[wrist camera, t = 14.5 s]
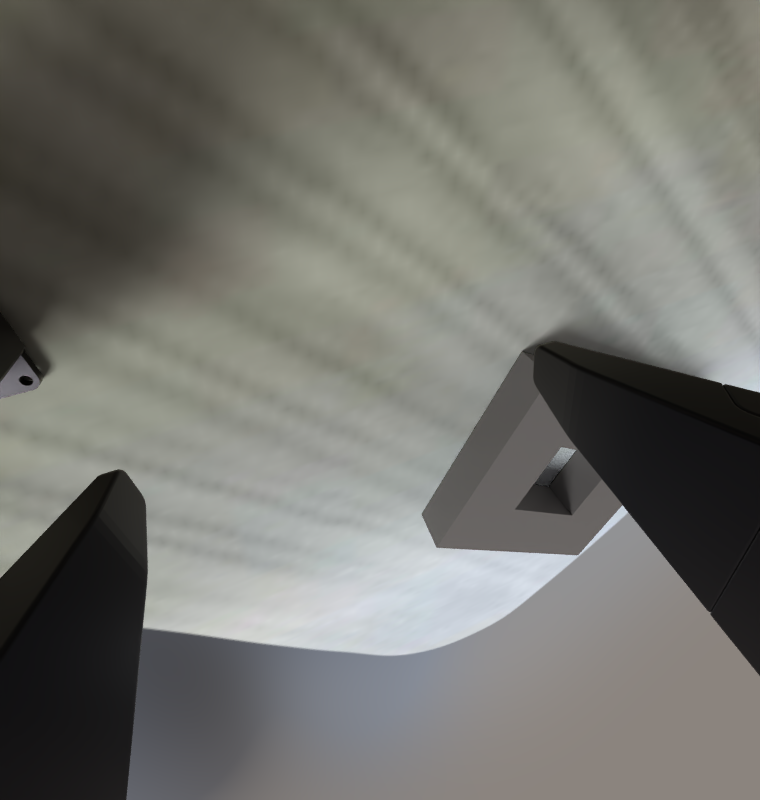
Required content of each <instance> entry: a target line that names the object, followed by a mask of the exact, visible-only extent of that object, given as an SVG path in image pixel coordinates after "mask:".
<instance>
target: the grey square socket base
mask: <svg viewBox="0 0 760 800" xmlns="http://www.w3.org/2000/svg"><path fill="white" fill-rule="evenodd" d="M533 366H534V355H532V354H529V353H526V352H521V354H520V356H519V357H518V359H517V360H516V362H515V364H514V365H513V367H512V369H511V370H510V372H509V373H508V375H507V377H506V378H505V380H504V382H503V383H502V385H501V386H500V388H499V390H498V391H497V393H496V395H495V396H494V398H493V399H492V401H491V403H490V404H489V406H488V408H487V409H486V411H485V412H484V414H483V416H482V417H481V419H480V421H479V422H478V424H477V425H476V427H475V429H474V430H473V432H472V433H471V435H470V437H469V438H468V440H467V442H466V443H465V445H464V446H463V448H462V450H461V451H460V453H459V455H458V456H457V458H456V459H455V461H454V463H453V464H452V466H451V468H450V469H449V471H448V472H447V474H446V476H445V477H444V479H443V481H442V482H441V484H440V485H439V487H438V489H437V490H436V492H435V494H434V495H433V497H432V498H431V500H430V502H429V503H428V505H427V507H426V508H425V510H424V511H423V513H422V516H423V519H424V521H425V523H426V525H427V527H428V530H429V532H430V534H431V536H432V538H433V541H434V543H435V545H436V547H437V548H453V549H472V550H490V551H509V552H528V553H546V554H565V555H579V553H580V552H581V551H582V550H583V549H584V548H585V547H586V546H587V544H588V543H589V542H590V541H591V540H592V539H593V538H594V536H595V535H596V534H597V533H598V532H599V531H600V530H601V529H602V527H603V526H604V525H605V524H606V523H607V522H608V521H609V520H610V518H611V517H612V516H613V515H614V514H615V513H616V512H617V511H618V509H619V508H620V507H621V506H622V504H621V503H620V501H619V500H618V499H617V498H616V496H615V495H614V494H613V493H612V491H611V490H610V489H609V488H608V486H607V485H606V484H605V483H604V481H603V480H602V479H601V478H600V476H599V475H598V474H597V473H596V471H595V470H594V469H593V468H592V467H591V465H590V464H589V463H588V462H587V460H586V459H585V458H584V457H583V455H582V454H581V453H580V452H579V450H578V449H577V448H576V447H575V445H574V444H573V443H572V442H571V440H570V439H569V438H568V436H567V435H566V433H565V432H564V430H563V429H562V427H561V426H560V424H559V423H558V421H557V419H556V418H555V416H554V415H553V413H552V412H551V410H550V408H549V407H548V405H547V404H546V402H545V400H544V399H543V397H542V396H541V394H540V393H539V391H538V389H537V388H536V386H535V384H534V381H533ZM561 447H565V448H570V449H575V450H577V451H576V452H575V453H574V455H573V456H572V457H571V458H570V460H569V461H568V462H567V464H566V465H565V466H564V468H563V469H562V470H561V472H560V473H559V474H558V475H557V477H556V478H555V479H554V481H553V482H552V483H551V485H550V486H549V487H547V486H540V485H533V484H534V483H535V482H536V480H537V479H538V477H539V476H540V475H541V473H542V472H543V471H544V469H545V468H546V467H547V465H548V464H549V463H550V461H551V460H552V459H553V457H554V456H555V455H556V453H557V452H558V451H559V449H560V448H561Z"/></svg>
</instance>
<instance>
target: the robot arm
mask: <svg viewBox="0 0 760 800" xmlns="http://www.w3.org/2000/svg"><path fill="white" fill-rule="evenodd" d="M24 347H25V346H24V344H23V343H22V341H21V340H20V338H19V337H18V336H17V334H16V333H15V332H14V330H13V329H12V328H11V326H10V325H9V324H8V322H7V321H6V320H5V318H4V317H3V315H2V314H1V313H0V399H1V398H5V397H9V396H12V395H16V394H20V393H23V392H27V391H31V390H34V389H36V388H38V386H39V385H40V383H41V382H42V379H43V376H42V374H41V372H40V371H39V370H38V368H37V367H36V365H35V364H34V363H33V361H32V360H31V359H30V357H29V356H28V355H27V353H26V352H25V351H24ZM22 376H28V377H30V378H32V380H33V381H28V380H25V379H24V378H23V377H22ZM533 381H534V384H535V386H536V388H537V389H538V391H539V393H540V394H541V396H542V397H543V399H544V400H545V402H546V404H547V405H548V407H549V408H550V410H551V412H552V413H553V415H554V416H555V418H556V419H557V421H558V423H559V424H560V426H561V427H562V429H563V430H564V432H565V433H566V435H567V436H568V438H569V439H570V440H571V442H572V443H573V444H574V445H575V447H576V448H577V449H578V450H579V452H580V453H581V454H582V455H583V457H584V458H585V459H586V460H587V462H588V463H589V464H590V465H591V467H592V468H593V469H594V470H595V471H596V473H597V474H598V475H599V476H600V478H601V479H602V480H603V481H604V483H605V484H606V485H607V486H608V488H609V489H610V490H611V491H612V493H613V494H614V495H615V496H616V498H617V499H618V500H619V501H620V503H621V504H622V505H623V506H624V507H625V509H626V510H627V511H628V512H629V514H630V515H631V516H632V517H633V519H634V520H635V521H636V522H637V523H638V525H639V526H640V527H641V529H642V530H643V531H644V532H645V533H646V535H647V536H648V537H649V539H650V540H651V541H652V542H653V543H654V545H655V546H656V547H657V548H658V549H659V551H660V552H661V553H662V555H663V556H664V557H665V558H666V560H667V561H668V562H669V563H670V565H671V566H672V567H673V568H674V570H675V571H676V572H677V573H678V574H679V576H680V577H681V578H682V579H683V581H684V582H685V583H686V584H687V586H688V587H689V588H690V589H691V590H692V592H693V593H694V594H695V596H696V597H697V598H698V599H699V600H700V602H701V603H702V604H703V605H704V607H705V608H706V609H707V610H708V611H709V612H711V613H710V614H711V616H712V617H713V618H714V620H715V621H716V622H717V623H718V625H719V626H720V627H721V628H722V630H723V631H724V632H725V633H726V635H727V636H728V637H729V638H730V640H731V641H732V642H733V643H734V644H735V646H736V647H737V648H738V649H739V651H740V652H741V653H742V654H743V656H744V657H745V658H746V659H747V660H748V662H749V663H750V664H751V666H752V667H753V668H754V669H755V670H756V672H757V673H758V674H759V675H760V393H759V392H755V391H751V390H747V389H743V388H739V387H735V386H731V385H727V384H725V385H722V384H721V383H719V382H715V381H711V380H707V379H703V378H699V377H695V376H691V375H687V374H683V373H679V372H675V371H671V370H667V369H663V368H659V367H655V366H652V365H648V364H644V363H640V362H636V361H632V360H628V359H624V358H620V357H616V356H612V355H608V354H604V353H600V352H596V351H592V350H588V349H584V348H580V347H576V346H572V345H568V344H565V343H561V342H557V341H551V342H548V343H545V344H541V345H538V346H537V347H536V349H535V352H534V366H533ZM147 575H148V558H147V526H146V504H145V500H144V498H143V496H142V494H141V493H140V491H139V490H138V488H137V487H136V486H135V484H134V483H133V481H132V480H131V479H130V477H129V476H128V475H127V473H126V472H125V471H123V470H119V469H118V470H114V471H111V472H108V473H104V474H101V475H99V476H98V477H97V478H96V479H95V480H94V481H93V482H92V483H91V484H90V485H89V486H88V487H87V488H86V489H85V490H84V491H83V492H82V493H81V494H80V496H79V497H78V498H77V499H76V500H75V501H74V502H73V503H72V504H71V505H70V506H69V507H68V508H67V509H66V510H65V511H64V512H63V513H62V514H61V515H60V516H59V517H58V519H57V520H56V521H55V522H54V523H53V524H52V525H51V526H50V527H49V528H48V529H47V530H46V531H45V532H44V533H43V534H42V535H41V536H40V537H39V538H38V539H37V540H36V542H35V543H34V544H33V545H32V546H31V547H30V548H29V549H28V550H27V551H26V552H25V553H24V554H23V555H22V556H21V557H20V558H19V559H18V560H17V561H16V562H15V563H14V564H13V566H12V567H11V568H10V569H9V570H8V571H7V572H6V573H5V574H4V575H3V576H2V577H1V578H0V800H126V796H127V787H128V776H129V766H130V755H131V745H132V735H133V724H134V713H135V702H136V692H137V682H138V671H139V661H140V651H141V641H142V630H143V620H144V609H145V599H146V589H147Z"/></svg>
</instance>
